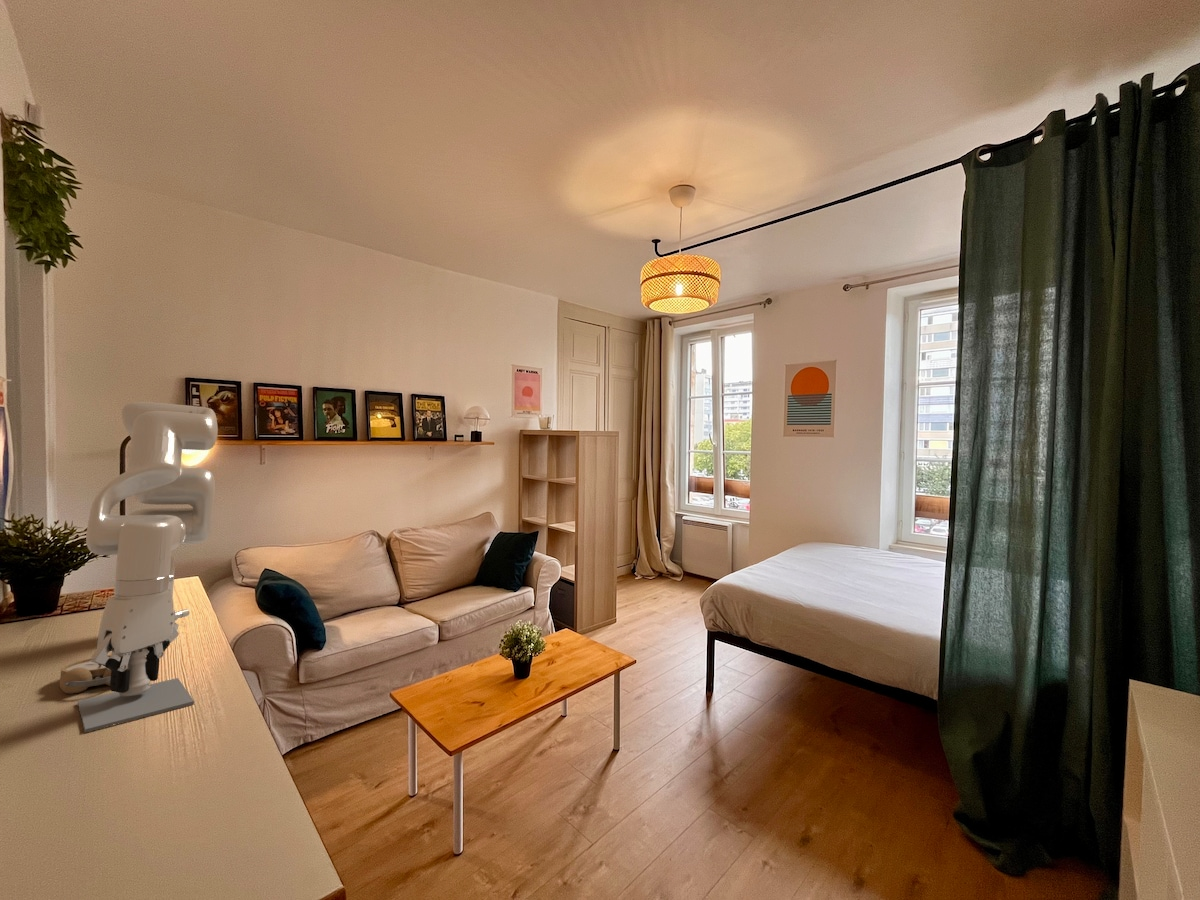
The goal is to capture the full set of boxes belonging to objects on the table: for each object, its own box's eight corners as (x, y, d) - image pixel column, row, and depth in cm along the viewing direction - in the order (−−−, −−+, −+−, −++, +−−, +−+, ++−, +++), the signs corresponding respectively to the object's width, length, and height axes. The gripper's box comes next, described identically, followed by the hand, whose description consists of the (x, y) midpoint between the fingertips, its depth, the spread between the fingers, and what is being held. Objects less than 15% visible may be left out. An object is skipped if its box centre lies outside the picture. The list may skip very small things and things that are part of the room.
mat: (77, 704, 90) (77, 700, 90) (177, 680, 100) (177, 677, 100) (84, 733, 81) (85, 729, 81) (193, 704, 91) (194, 701, 91)
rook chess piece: (113, 699, 89) (117, 654, 89) (123, 688, 93) (126, 645, 93) (145, 694, 91) (149, 650, 91) (154, 684, 95) (157, 642, 95)
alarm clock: (140, 650, 108) (138, 659, 97) (138, 674, 107) (135, 685, 96) (65, 661, 101) (53, 672, 90) (62, 687, 100) (50, 701, 89)
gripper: (171, 575, 102) (164, 665, 101) (71, 595, 85) (62, 703, 84) (202, 578, 100) (195, 670, 100) (106, 599, 84) (97, 709, 83)
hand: (134, 684), depth 92 cm, fingers closed on rook chess piece, 4 cm apart
